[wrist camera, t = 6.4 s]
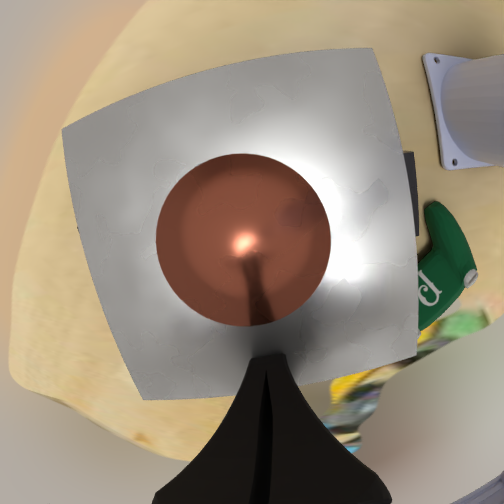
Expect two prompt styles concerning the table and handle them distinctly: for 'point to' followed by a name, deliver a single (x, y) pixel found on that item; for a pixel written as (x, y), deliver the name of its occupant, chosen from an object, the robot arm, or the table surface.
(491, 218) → the table surface
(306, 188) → the lid
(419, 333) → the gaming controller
